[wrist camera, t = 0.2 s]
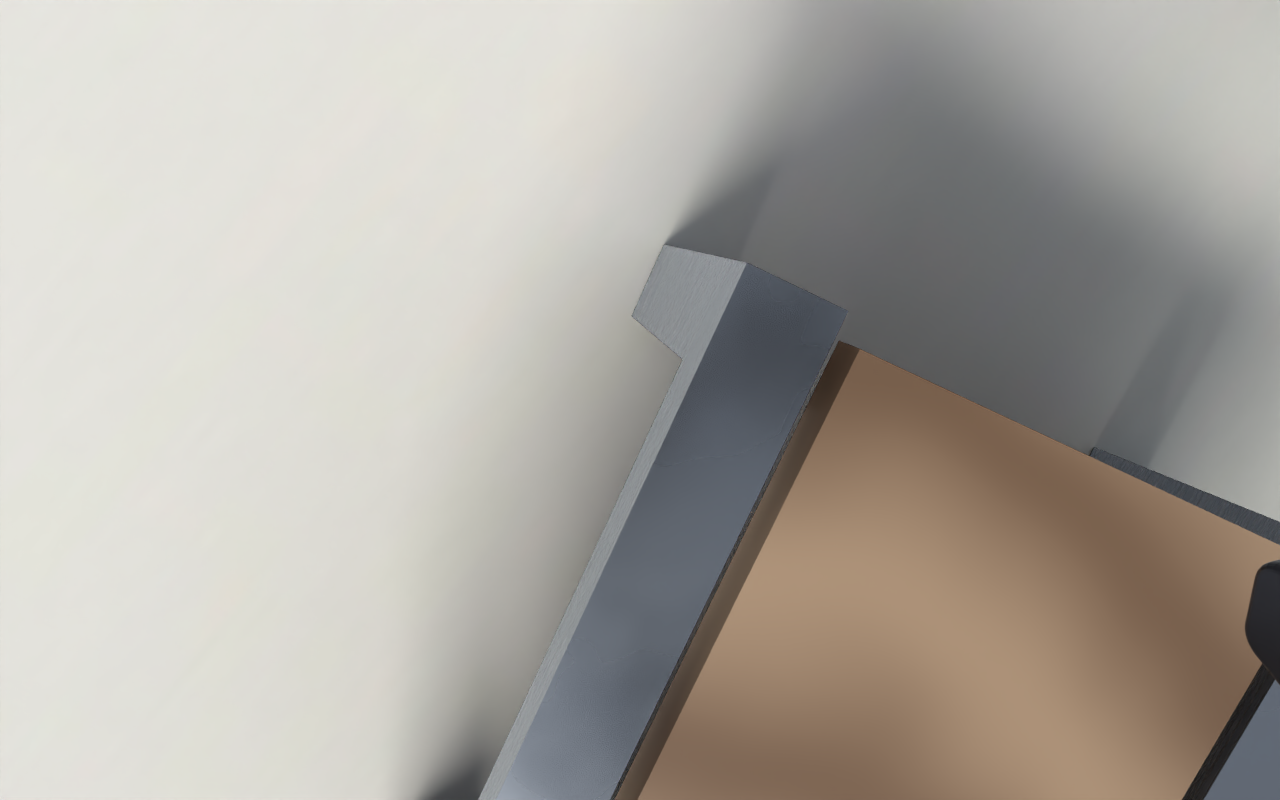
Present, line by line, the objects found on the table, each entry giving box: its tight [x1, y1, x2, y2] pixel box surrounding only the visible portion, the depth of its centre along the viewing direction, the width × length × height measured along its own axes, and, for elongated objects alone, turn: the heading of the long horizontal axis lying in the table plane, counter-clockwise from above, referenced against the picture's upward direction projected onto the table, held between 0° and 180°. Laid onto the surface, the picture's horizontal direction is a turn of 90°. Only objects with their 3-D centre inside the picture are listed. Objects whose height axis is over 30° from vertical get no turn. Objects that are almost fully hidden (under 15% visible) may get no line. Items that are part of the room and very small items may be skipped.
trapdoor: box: [615, 341, 1280, 800], centre depth 20 cm, size 18×11×6 cm, turn 155°
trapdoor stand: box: [478, 245, 1280, 800], centre depth 21 cm, size 20×16×8 cm
